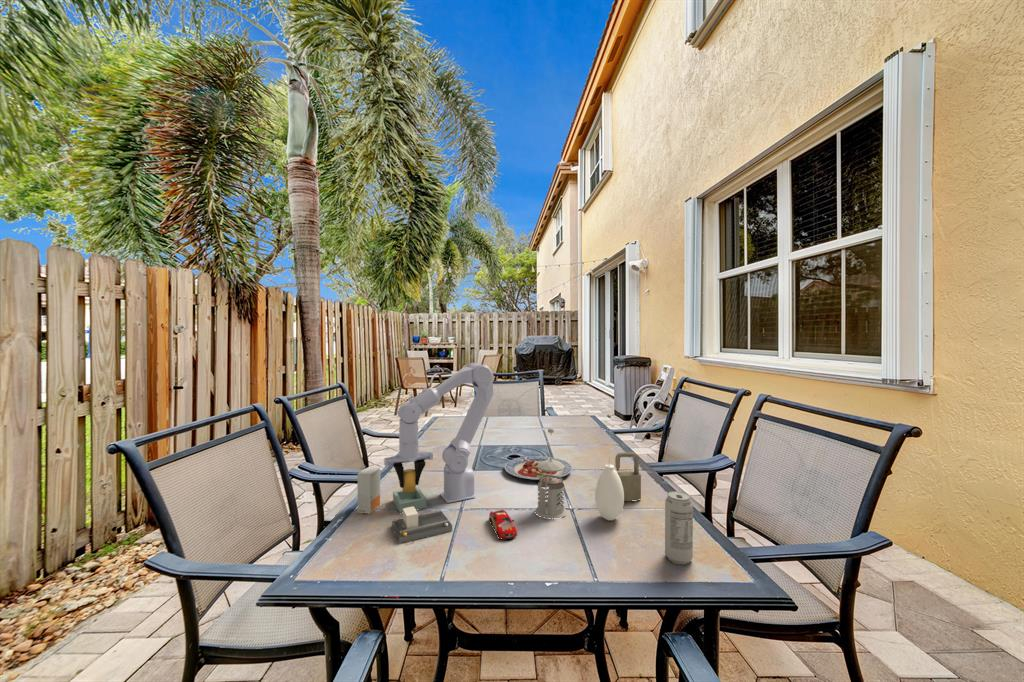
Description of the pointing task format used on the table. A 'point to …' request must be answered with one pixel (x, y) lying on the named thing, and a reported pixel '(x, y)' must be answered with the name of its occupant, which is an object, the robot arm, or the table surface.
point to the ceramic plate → (534, 467)
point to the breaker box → (422, 527)
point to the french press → (551, 490)
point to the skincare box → (368, 490)
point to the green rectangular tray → (409, 500)
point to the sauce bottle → (609, 493)
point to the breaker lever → (410, 517)
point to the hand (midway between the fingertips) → (409, 485)
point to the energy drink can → (679, 527)
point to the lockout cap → (409, 481)
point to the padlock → (630, 477)
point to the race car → (502, 524)
